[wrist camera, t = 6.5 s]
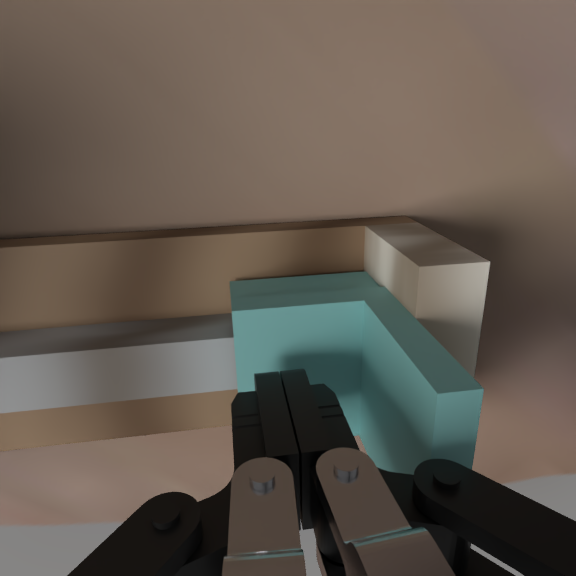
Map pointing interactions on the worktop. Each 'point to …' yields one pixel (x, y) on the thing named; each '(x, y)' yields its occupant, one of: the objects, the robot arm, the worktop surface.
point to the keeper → (361, 363)
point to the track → (189, 317)
